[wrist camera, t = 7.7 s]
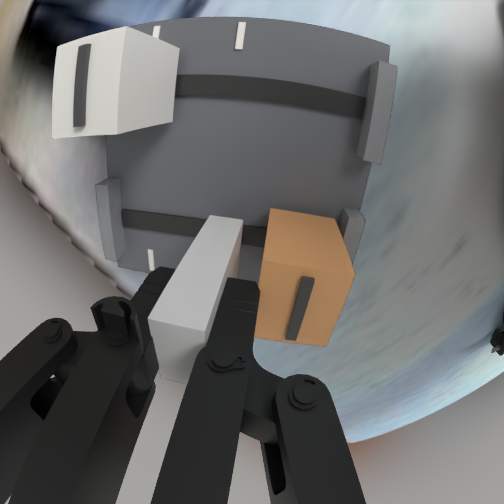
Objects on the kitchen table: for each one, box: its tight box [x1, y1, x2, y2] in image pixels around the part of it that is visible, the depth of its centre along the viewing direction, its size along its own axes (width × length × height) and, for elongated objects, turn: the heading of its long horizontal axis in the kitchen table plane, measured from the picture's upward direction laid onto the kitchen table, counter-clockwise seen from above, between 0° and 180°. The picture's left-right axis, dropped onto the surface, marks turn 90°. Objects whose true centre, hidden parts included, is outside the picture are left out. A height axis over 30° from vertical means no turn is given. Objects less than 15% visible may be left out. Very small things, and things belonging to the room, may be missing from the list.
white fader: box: [52, 26, 180, 139], centre depth 8 cm, size 4×3×5 cm
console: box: [95, 17, 397, 286], centre depth 13 cm, size 14×13×4 cm
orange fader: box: [254, 208, 355, 346], centre depth 11 cm, size 4×3×5 cm
